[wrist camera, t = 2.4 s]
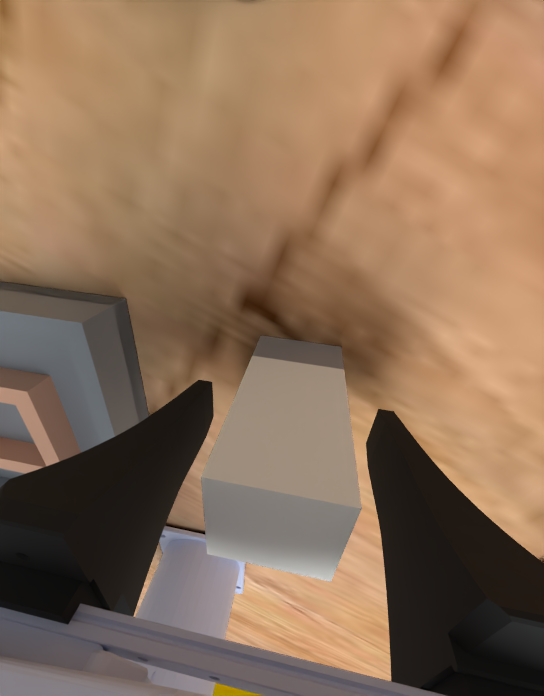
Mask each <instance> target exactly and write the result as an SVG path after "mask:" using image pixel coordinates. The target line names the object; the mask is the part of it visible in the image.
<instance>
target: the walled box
mask: <svg viewBox="0 0 544 696" xmlns="http://www.w3.org/2000/svg"><path fill="white" fill-rule="evenodd" d="M147 417H149V414H148V409H147V404H146V399H145V394H144V389H143V384H142V379H141V373H140V368H139V363H138V358H137V353H136V348H135V343H134V338H133V333H132V328H131V322H130V317H129V312H128V307H127V302H126V299H125V298H118V297H110V296H103V295H96V294H88V293H81V292H74V291H66V290H59V289H52V288H44V287H37V286H30V285H23V284H15V283H8V282H1V281H0V487H1V486H2V485H3V484H5V483H6V482H7V481H8V480H9V479H11V478H14V477H17V476H20V475H23V474H26V473H29V472H32V471H35V470H37V469H40V468H43V467H46V466H49V465H52V464H54V463H57V462H59V461H62V460H64V459H67V458H69V457H72V456H74V455H77V454H79V453H81V452H84V451H86V450H88V449H90V448H92V447H94V446H96V445H98V444H101V443H103V442H105V441H107V440H109V439H111V438H113V437H115V436H117V435H119V434H120V433H122V432H124V431H126V430H128V429H129V428H131V427H133V426H135V425H136V424H138V423H140V422H141V421H143V420H144V419H146V418H147Z"/></svg>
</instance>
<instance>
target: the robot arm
mask: <svg viewBox="0 0 544 696" xmlns="http://www.w3.org/2000/svg"><path fill="white" fill-rule="evenodd" d="M212 419H213V391H212V382H209V381H202V380H198V381H197V382H196V383H194V384H193V385H191V386H190V387H189V388H188V389H186V390H185V391H184V392H182V393H181V394H180V395H178V396H177V397H176V398H174V399H173V400H172V401H170V402H169V403H168V404H166V405H165V406H164V407H162V408H161V409H159V410H158V411H156V412H155V413H153V414H152V415H150V416H149V417H147V418H146V419H144V420H143V421H141V422H140V423H138V424H136V425H135V426H133V427H131V428H129V429H128V430H126V431H124V432H122V433H120V434H119V435H117V436H115V437H113V438H111V439H109V440H107V441H105V442H103V443H101V444H98V445H96V446H94V447H92V448H90V449H88V450H86V451H84V452H81V453H79V454H77V455H74V456H72V457H69V458H67V459H64V460H62V461H59V462H57V463H54V464H52V465H49V466H46V467H43V468H40V469H37V470H35V471H32V472H29V473H26V474H23V475H20V476H17V477H14V478H11V479H9V480H8V481H7V482H6V483H5V484H3V485H2V486H1V487H0V696H213V692H214V687H215V683H218V684H222V685H226V686H230V687H233V688H237V689H241V690H245V691H248V692H252V693H256V694H260V695H263V696H544V563H542V562H541V561H540V560H539V559H537V558H536V557H535V556H534V555H532V554H531V553H530V552H529V551H527V550H526V549H525V548H524V547H522V546H521V545H520V544H519V543H517V542H516V541H515V540H514V539H513V538H511V537H510V536H509V535H508V534H507V533H505V532H504V531H503V530H502V529H501V528H500V527H499V526H497V525H496V524H495V523H494V522H493V521H492V520H491V519H489V518H488V517H487V516H486V515H485V514H484V513H483V512H482V511H481V510H479V509H478V508H477V507H476V506H475V505H474V504H473V503H472V502H471V501H470V500H469V499H468V498H467V497H466V496H465V495H464V494H463V493H462V492H461V491H460V490H459V489H458V488H457V487H456V486H455V485H454V484H453V483H452V482H451V481H450V480H449V479H448V478H447V477H446V475H445V474H444V473H443V472H442V471H441V470H440V469H439V468H438V467H437V465H436V464H435V463H434V462H433V461H432V460H431V458H430V457H429V456H428V455H427V454H426V452H425V451H424V450H423V449H422V448H421V446H420V445H419V444H418V443H417V441H416V440H415V439H414V437H413V436H412V435H411V434H410V432H409V431H408V430H407V428H406V427H405V426H404V424H403V423H402V422H401V420H400V419H399V418H398V417H397V415H396V414H395V413H394V411H387V410H381V409H378V412H377V415H376V417H375V420H374V423H373V426H372V428H371V431H370V434H369V437H368V439H367V442H366V447H367V461H368V469H369V475H370V480H371V485H372V490H373V495H374V499H375V504H376V509H377V514H378V519H379V525H380V531H381V538H382V547H383V557H384V567H385V578H386V590H387V604H388V618H389V635H390V656H391V681H387V680H383V679H379V678H375V677H371V676H367V675H363V674H359V673H355V672H351V671H347V670H343V669H339V668H335V667H331V666H327V665H323V664H319V663H315V662H311V661H307V660H303V659H299V658H295V657H291V656H287V655H283V654H279V653H275V652H271V651H267V650H263V649H259V648H256V647H252V646H248V645H244V644H240V643H236V642H232V641H228V640H225V636H226V631H227V627H228V622H229V618H230V613H231V608H232V604H233V599H234V594H235V593H237V594H242V593H243V589H244V576H245V562H241V561H236V560H232V559H227V558H223V557H218V556H214V555H209V554H207V546H206V535H205V534H200V533H196V532H191V531H187V530H182V529H177V528H173V527H168V526H165V524H166V522H167V519H168V516H169V514H170V511H171V509H172V506H173V504H174V501H175V499H176V496H177V494H178V491H179V489H180V487H181V485H182V483H183V481H184V479H185V477H186V475H187V473H188V471H189V469H190V467H191V465H192V463H193V461H194V460H195V458H196V456H197V454H198V452H199V450H200V448H201V446H202V444H203V442H204V440H205V438H206V436H207V433H208V430H209V428H210V425H211V422H212ZM159 542H160V546H161V550H162V554H163V555H162V557H161V560H160V562H159V564H158V567H157V569H156V571H155V573H154V576H153V578H152V580H151V583H150V585H149V587H148V589H147V592H146V594H145V596H144V599H143V601H142V603H141V605H140V608H139V610H138V612H137V615H136V617H133V616H134V612H135V609H136V606H137V603H138V600H139V597H140V594H141V591H142V588H143V585H144V582H145V579H146V576H147V573H148V571H149V568H150V565H151V562H152V559H153V557H154V554H155V551H156V548H157V545H158V543H159Z"/></svg>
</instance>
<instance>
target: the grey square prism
mask: <svg viewBox="0 0 544 696" xmlns="http://www.w3.org/2000/svg"><path fill="white" fill-rule="evenodd" d="M201 483H202V496H203V508H204V521H205V533H206V546H207V554H209V555H214V556H218V557H223V558H227V559H232V560H236V561H241V562H245V563H249V564H254V565H258V566H263V567H267V568H272V569H276V570H281V571H285V572H290V573H294V574H298V575H303V576H307V577H312V578H316V579H321V580H325V581H330V582H331V580H332V577H333V575H334V573H335V570H336V568H337V566H338V563H339V561H340V559H341V556H342V554H343V551H344V549H345V547H346V544H347V542H348V540H349V537H350V535H351V533H352V530H353V528H354V526H355V523H356V521H357V518H358V516H359V514H360V511H361V509H362V507H361V499H360V491H359V483H358V475H357V467H356V459H355V451H354V443H353V435H352V427H351V419H350V411H349V403H348V395H347V387H346V379H345V371H344V363H343V355H342V347H340V346H333V345H326V344H319V343H312V342H305V341H298V340H291V339H284V338H277V337H270V336H263V335H261V336H260V339H259V341H258V343H257V346H256V348H255V350H254V353H253V355H252V357H251V360H250V362H249V365H248V367H247V369H246V372H245V374H244V376H243V379H242V381H241V383H240V386H239V388H238V391H237V393H236V395H235V398H234V400H233V402H232V405H231V407H230V409H229V412H228V414H227V417H226V419H225V421H224V424H223V426H222V428H221V431H220V433H219V435H218V438H217V440H216V443H215V445H214V447H213V450H212V452H211V454H210V457H209V459H208V461H207V464H206V466H205V469H204V471H203V473H202V476H201Z"/></svg>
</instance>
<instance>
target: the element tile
mask: <svg viewBox="0 0 544 696" xmlns="http://www.w3.org/2000/svg"><path fill="white" fill-rule="evenodd" d="M213 696H263V695H260V694H256V693H252V692H248V691H245V690H241V689H237V688H233V687H230V686H226V685H222V684H218V683H215V687H214V692H213Z"/></svg>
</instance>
